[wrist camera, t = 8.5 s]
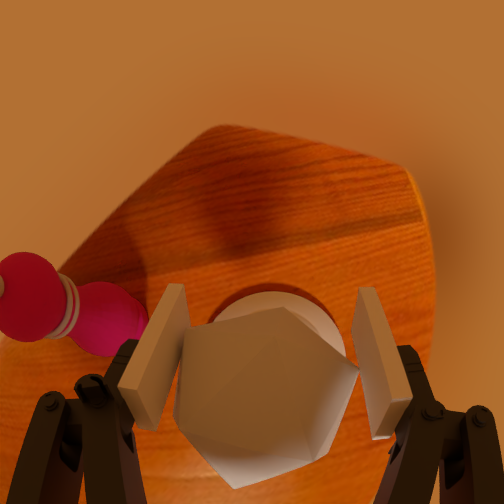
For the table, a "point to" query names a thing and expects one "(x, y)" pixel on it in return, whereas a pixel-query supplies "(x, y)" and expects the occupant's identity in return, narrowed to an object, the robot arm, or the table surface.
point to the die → (260, 394)
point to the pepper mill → (65, 307)
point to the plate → (294, 304)
